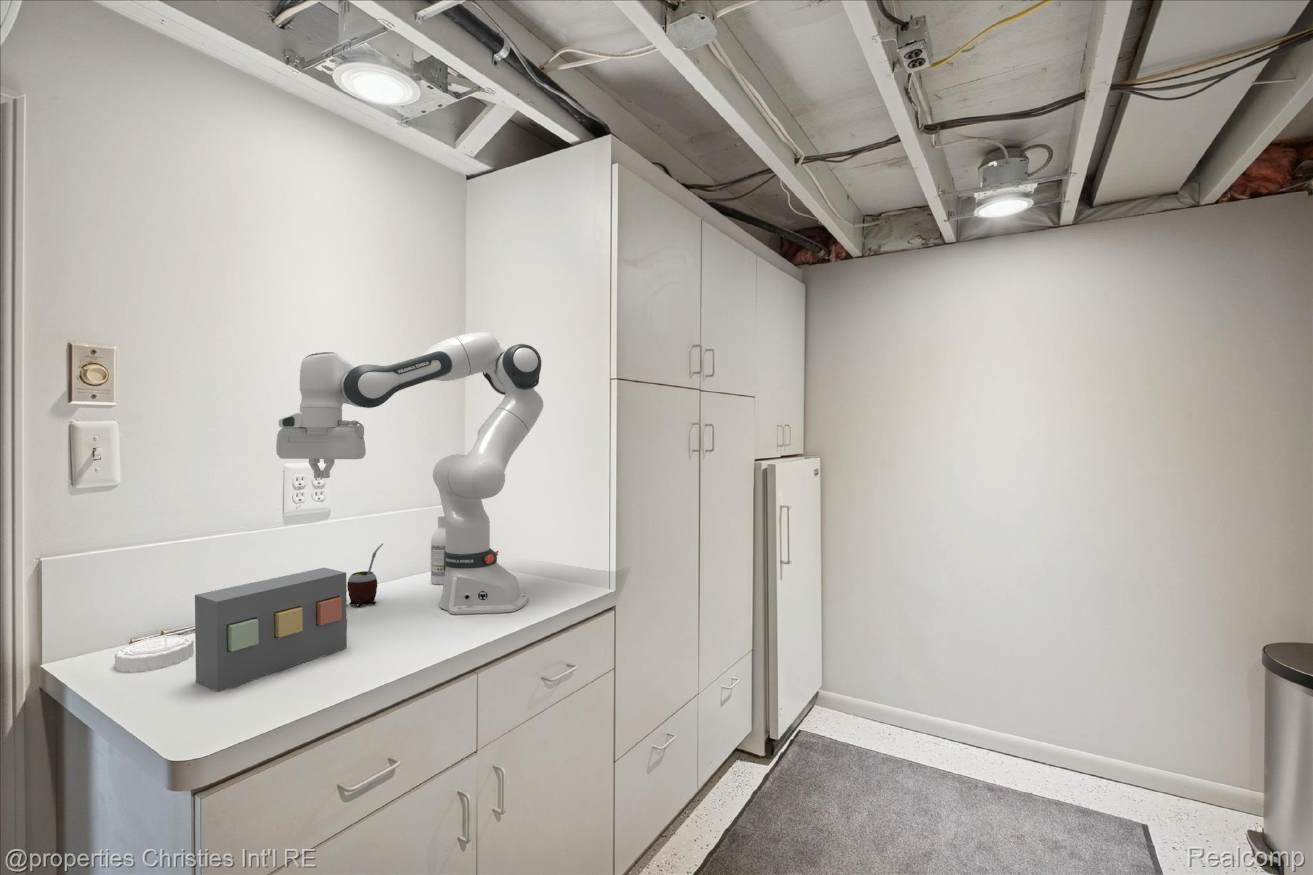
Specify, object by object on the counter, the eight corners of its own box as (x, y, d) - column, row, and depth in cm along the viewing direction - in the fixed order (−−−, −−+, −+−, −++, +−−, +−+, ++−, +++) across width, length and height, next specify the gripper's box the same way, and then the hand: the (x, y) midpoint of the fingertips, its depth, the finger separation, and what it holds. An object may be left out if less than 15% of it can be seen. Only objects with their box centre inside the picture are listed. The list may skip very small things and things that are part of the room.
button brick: (341, 619, 124) (341, 598, 124) (320, 625, 120) (320, 603, 120) (333, 616, 126) (332, 595, 125) (312, 622, 122) (311, 601, 122)
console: (346, 647, 126) (346, 572, 126) (217, 691, 106) (216, 601, 105) (324, 640, 130) (324, 567, 130) (195, 681, 110) (194, 594, 109)
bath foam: (457, 583, 177) (456, 516, 176) (432, 586, 174) (431, 517, 173) (453, 578, 183) (453, 512, 183) (429, 580, 180) (429, 514, 180)
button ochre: (302, 630, 117) (302, 608, 117) (279, 637, 113) (278, 614, 113) (293, 627, 119) (293, 605, 119) (270, 634, 115) (270, 611, 115)
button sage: (258, 643, 110) (258, 619, 110) (231, 651, 106) (231, 626, 106) (250, 640, 112) (249, 617, 112) (223, 648, 108) (223, 623, 108)
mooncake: (116, 659, 120) (116, 641, 120) (192, 645, 128) (192, 628, 128) (113, 679, 111) (112, 660, 111) (194, 663, 119) (194, 645, 118)
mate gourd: (343, 608, 153) (342, 550, 152) (354, 599, 161) (354, 543, 160) (373, 607, 154) (373, 549, 153) (383, 598, 162) (383, 543, 161)
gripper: (370, 420, 146) (371, 477, 146) (289, 420, 147) (290, 476, 147) (356, 420, 139) (356, 479, 140) (271, 419, 140) (272, 478, 141)
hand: (321, 478), depth 143 cm, fingers closed
